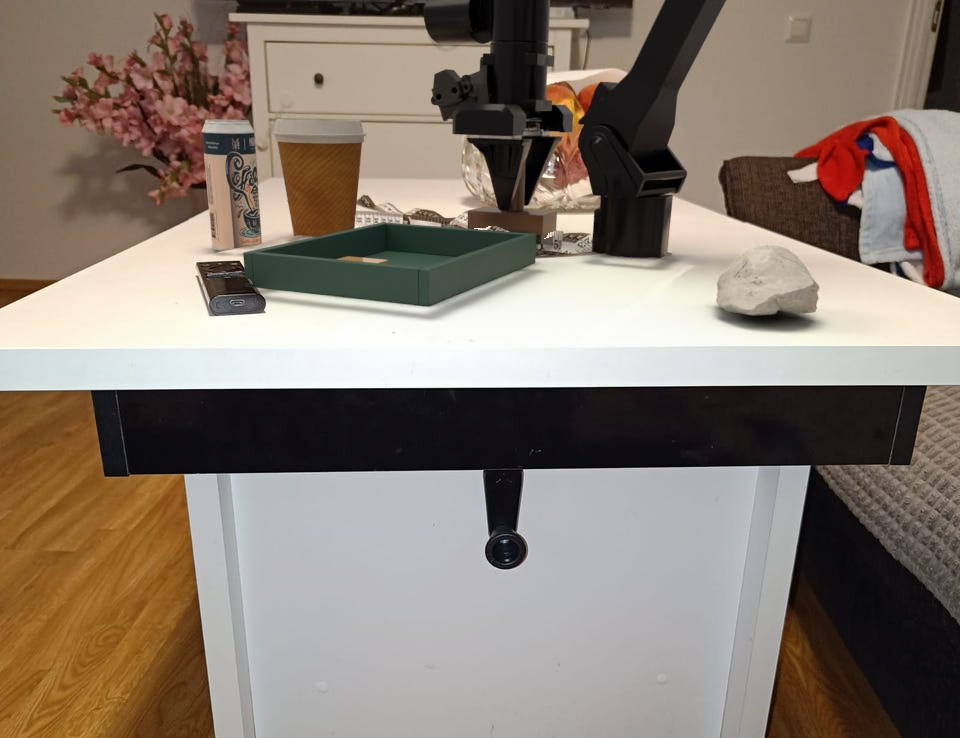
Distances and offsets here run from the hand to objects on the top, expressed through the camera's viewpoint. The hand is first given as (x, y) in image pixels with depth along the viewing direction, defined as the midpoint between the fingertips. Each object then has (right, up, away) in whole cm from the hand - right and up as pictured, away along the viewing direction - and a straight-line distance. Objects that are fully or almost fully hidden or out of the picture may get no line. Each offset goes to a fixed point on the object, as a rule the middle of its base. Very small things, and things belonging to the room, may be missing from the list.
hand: (514, 207), depth 97 cm
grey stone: (+17, -17, -29) cm, 38 cm away
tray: (-10, -12, -20) cm, 25 cm away
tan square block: (-13, -14, -26) cm, 33 cm away
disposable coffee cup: (-20, -3, +2) cm, 21 cm away
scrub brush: (0, -4, +1) cm, 4 cm away
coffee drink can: (-27, -6, -6) cm, 29 cm away
